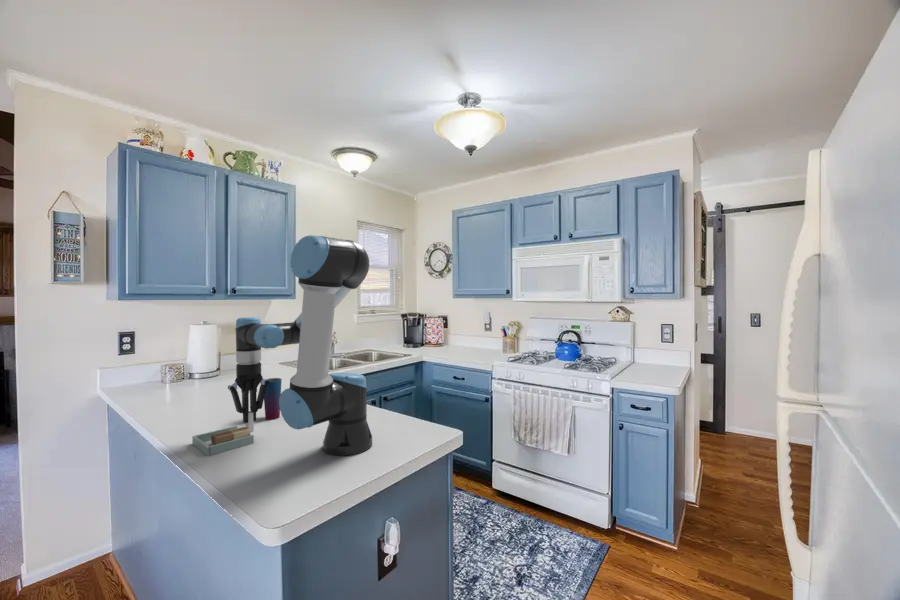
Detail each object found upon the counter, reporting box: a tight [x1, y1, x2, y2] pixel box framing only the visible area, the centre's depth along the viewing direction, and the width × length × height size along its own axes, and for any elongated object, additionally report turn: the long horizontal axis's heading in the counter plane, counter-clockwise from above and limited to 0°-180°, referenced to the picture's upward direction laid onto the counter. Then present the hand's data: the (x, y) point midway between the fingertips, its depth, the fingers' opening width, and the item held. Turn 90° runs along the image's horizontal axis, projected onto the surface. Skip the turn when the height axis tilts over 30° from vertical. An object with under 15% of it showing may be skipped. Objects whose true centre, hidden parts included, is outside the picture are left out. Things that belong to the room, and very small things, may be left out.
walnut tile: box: [210, 431, 234, 446], centre depth 124 cm, size 5×5×3 cm
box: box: [191, 425, 255, 457], centre depth 124 cm, size 15×13×2 cm
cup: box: [263, 377, 282, 421], centre depth 150 cm, size 7×7×15 cm
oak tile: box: [228, 425, 251, 440], centre depth 128 cm, size 5×5×3 cm
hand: (249, 431), depth 130 cm, fingers closed
